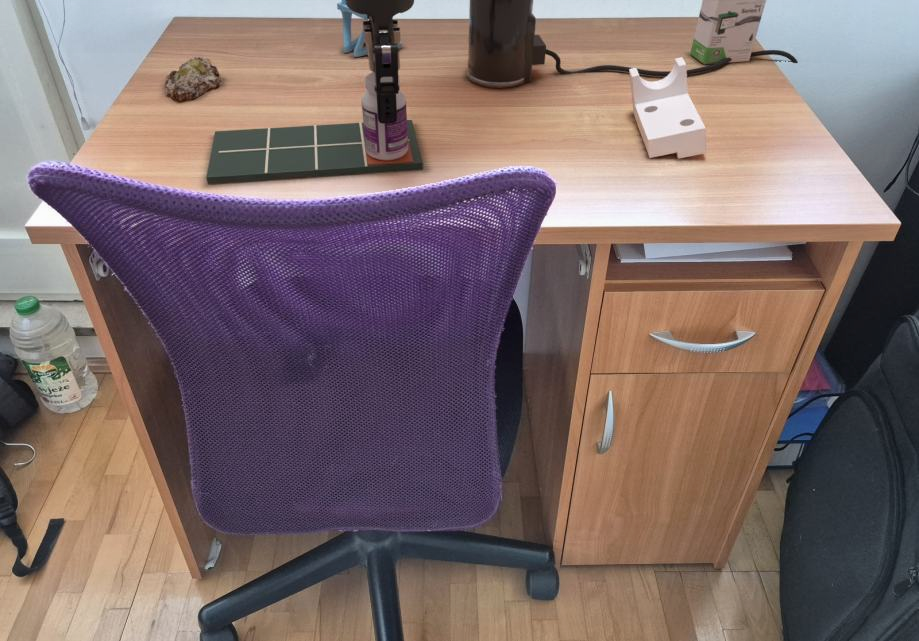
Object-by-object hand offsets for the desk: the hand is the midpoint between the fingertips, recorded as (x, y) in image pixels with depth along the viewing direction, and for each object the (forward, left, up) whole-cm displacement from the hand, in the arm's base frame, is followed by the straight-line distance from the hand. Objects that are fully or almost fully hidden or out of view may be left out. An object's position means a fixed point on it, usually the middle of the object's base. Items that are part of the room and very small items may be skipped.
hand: (385, 110), depth 88 cm
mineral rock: (+27, -26, -7) cm, 38 cm away
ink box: (-57, -27, -7) cm, 63 cm away
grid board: (+9, -3, -7) cm, 12 cm away
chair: (0, -38, -7) cm, 39 cm away
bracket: (-37, -2, -7) cm, 38 cm away
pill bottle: (0, 0, -6) cm, 6 cm away
